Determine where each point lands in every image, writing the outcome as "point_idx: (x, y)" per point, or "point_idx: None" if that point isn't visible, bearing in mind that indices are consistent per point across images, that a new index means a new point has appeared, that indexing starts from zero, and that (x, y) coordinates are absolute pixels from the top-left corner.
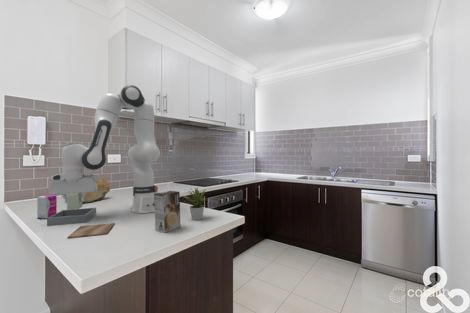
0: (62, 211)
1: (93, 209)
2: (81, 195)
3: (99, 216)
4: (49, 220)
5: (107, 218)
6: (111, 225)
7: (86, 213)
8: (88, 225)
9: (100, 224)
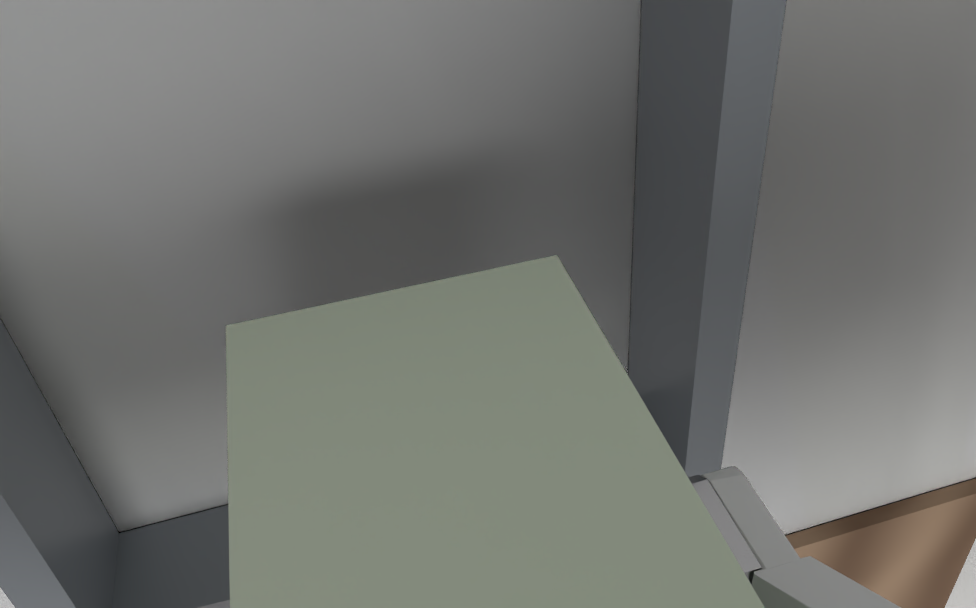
0: None
1: (770, 77)
2: (742, 605)
3: (805, 84)
4: None
5: (934, 243)
6: (958, 551)
7: (691, 420)
8: None
9: (859, 533)
